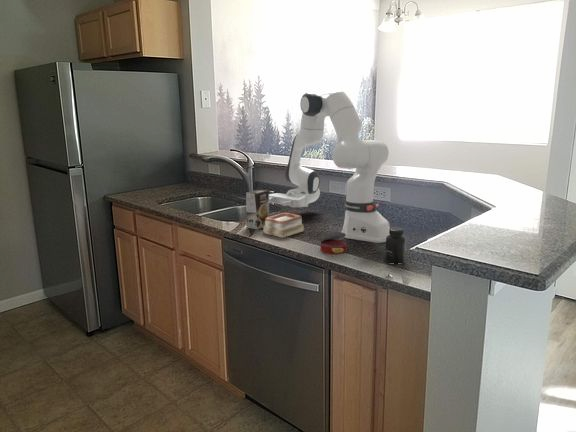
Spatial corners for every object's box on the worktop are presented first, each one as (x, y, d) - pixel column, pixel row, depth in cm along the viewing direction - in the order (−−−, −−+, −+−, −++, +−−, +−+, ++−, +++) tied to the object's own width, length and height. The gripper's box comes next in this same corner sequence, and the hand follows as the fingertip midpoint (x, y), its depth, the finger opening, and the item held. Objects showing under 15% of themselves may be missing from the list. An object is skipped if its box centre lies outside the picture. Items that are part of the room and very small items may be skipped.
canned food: (322, 264, 171) (310, 241, 170) (330, 254, 180) (318, 231, 179) (349, 255, 166) (336, 231, 164) (355, 244, 174) (343, 221, 173)
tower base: (303, 230, 199) (303, 215, 197) (282, 237, 189) (282, 222, 188) (284, 226, 206) (284, 212, 204) (263, 233, 196) (263, 217, 195)
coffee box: (257, 229, 201) (256, 193, 198) (246, 227, 205) (245, 192, 201) (269, 225, 209) (269, 190, 205) (258, 223, 212) (257, 188, 208)
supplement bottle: (383, 263, 158) (384, 230, 155) (386, 257, 164) (387, 225, 161) (403, 266, 155) (405, 232, 153) (405, 259, 162) (407, 227, 159)
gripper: (278, 189, 229) (259, 193, 219) (310, 194, 216) (291, 198, 206) (278, 201, 231) (259, 206, 221) (310, 207, 217) (291, 212, 207)
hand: (275, 202), depth 213 cm, fingers open, 8 cm apart
